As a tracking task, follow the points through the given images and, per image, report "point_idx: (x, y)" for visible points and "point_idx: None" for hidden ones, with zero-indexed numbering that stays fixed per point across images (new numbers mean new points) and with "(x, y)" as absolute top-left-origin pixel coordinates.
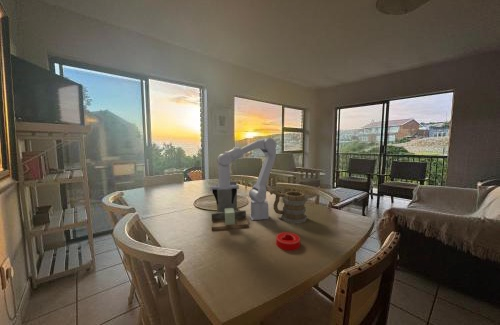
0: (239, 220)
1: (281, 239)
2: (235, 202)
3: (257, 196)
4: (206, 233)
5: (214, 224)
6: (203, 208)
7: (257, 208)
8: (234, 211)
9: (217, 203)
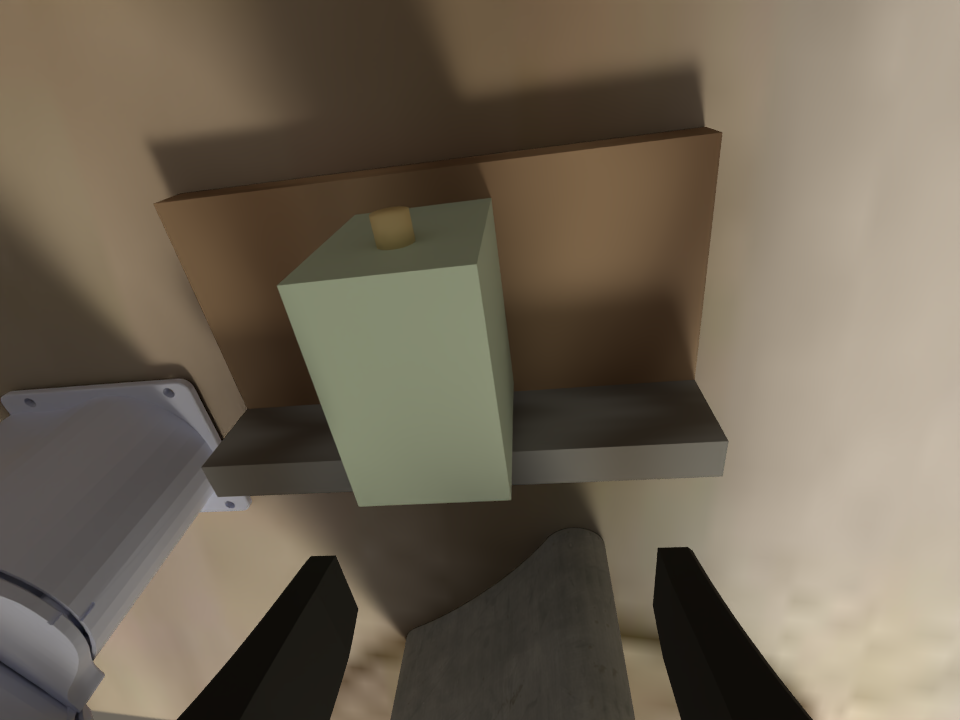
0: None
1: None
2: (404, 705)
3: None
4: (804, 2)
5: (665, 238)
6: None
7: (9, 491)
8: None
9: (681, 566)
